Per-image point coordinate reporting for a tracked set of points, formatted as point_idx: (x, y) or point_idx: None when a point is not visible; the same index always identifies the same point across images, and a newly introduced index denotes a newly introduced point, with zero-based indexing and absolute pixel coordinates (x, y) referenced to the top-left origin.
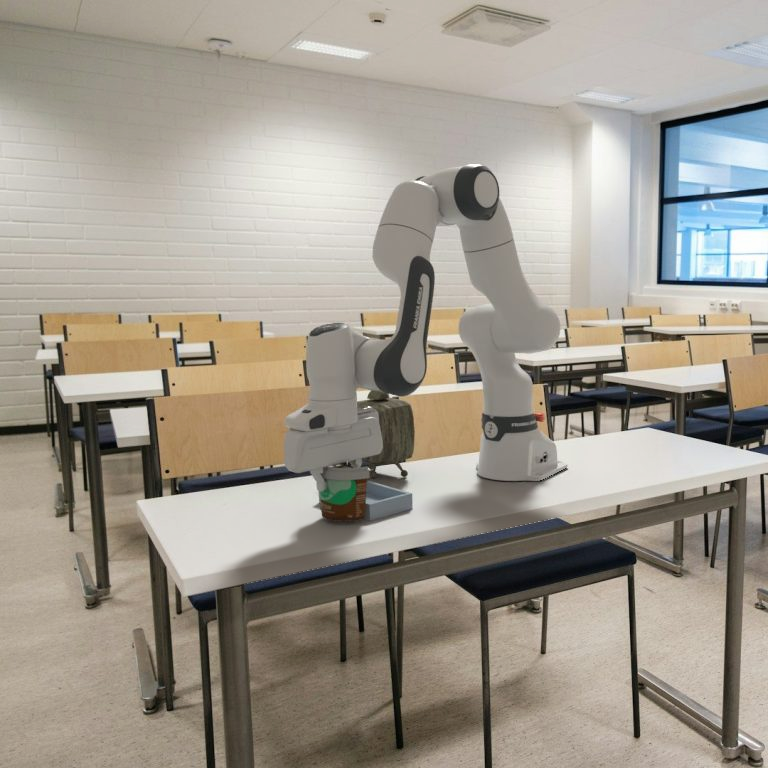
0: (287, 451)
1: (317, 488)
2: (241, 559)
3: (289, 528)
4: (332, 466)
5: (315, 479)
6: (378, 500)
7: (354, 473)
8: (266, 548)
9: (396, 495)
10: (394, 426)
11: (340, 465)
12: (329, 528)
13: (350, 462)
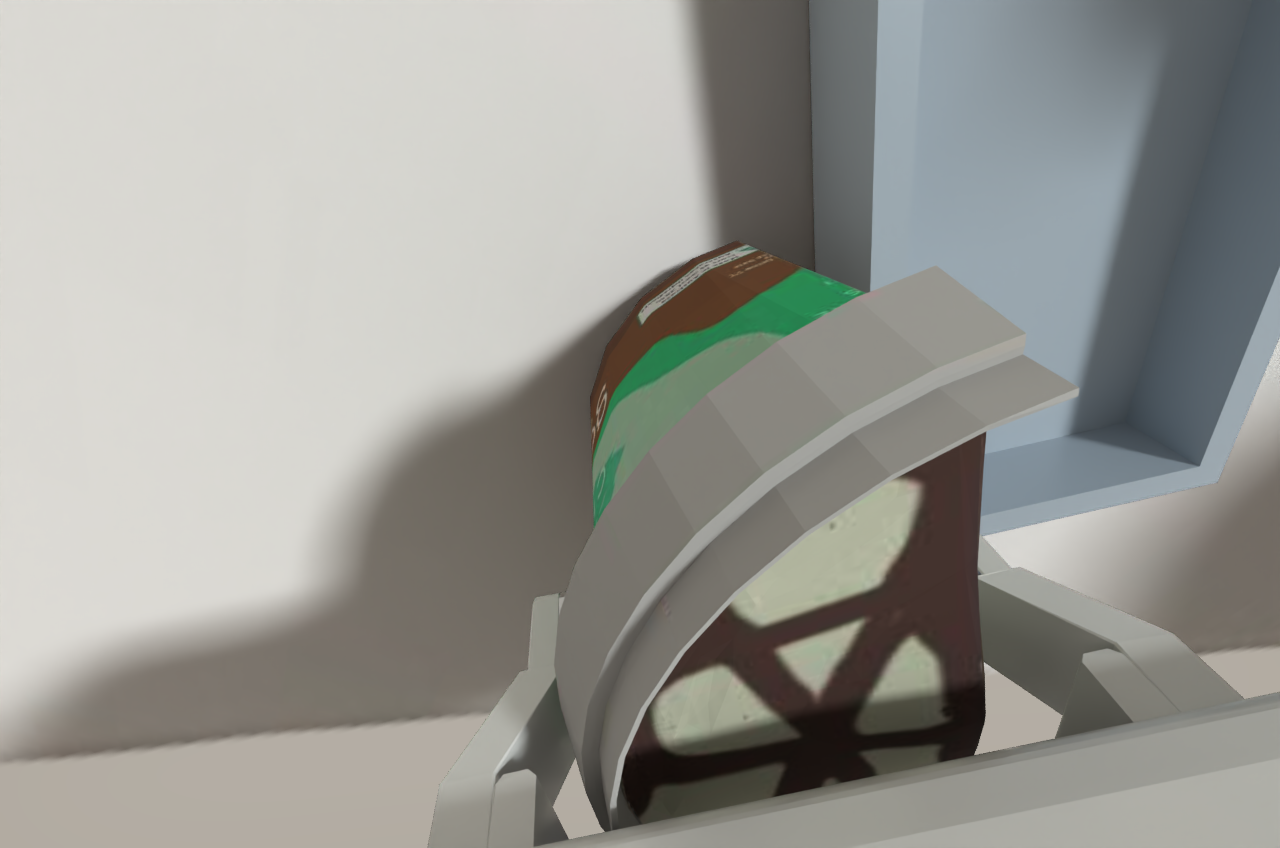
0: None
1: (535, 611)
2: (32, 689)
3: (338, 401)
4: (827, 668)
5: (511, 699)
6: (1132, 216)
7: None
8: (167, 621)
9: (1199, 355)
10: None
11: (910, 707)
12: (574, 505)
13: (1081, 683)
